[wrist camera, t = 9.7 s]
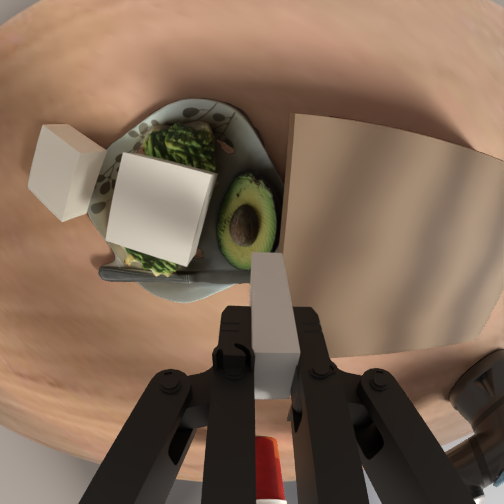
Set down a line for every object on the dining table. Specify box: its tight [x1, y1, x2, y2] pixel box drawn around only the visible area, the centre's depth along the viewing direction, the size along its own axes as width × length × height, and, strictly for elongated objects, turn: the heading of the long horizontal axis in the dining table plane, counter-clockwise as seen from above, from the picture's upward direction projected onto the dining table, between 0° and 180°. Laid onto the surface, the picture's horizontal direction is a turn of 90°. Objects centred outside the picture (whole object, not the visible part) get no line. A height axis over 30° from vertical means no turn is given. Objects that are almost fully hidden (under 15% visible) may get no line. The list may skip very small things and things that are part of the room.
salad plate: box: [87, 98, 284, 303], centre depth 23 cm, size 19×18×5 cm
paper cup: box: [255, 437, 287, 504], centre depth 38 cm, size 8×8×14 cm
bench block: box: [278, 113, 504, 358], centre depth 20 cm, size 20×16×9 cm
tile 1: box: [105, 152, 218, 267], centre depth 19 cm, size 6×6×3 cm
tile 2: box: [27, 124, 107, 222], centre depth 20 cm, size 6×6×3 cm
